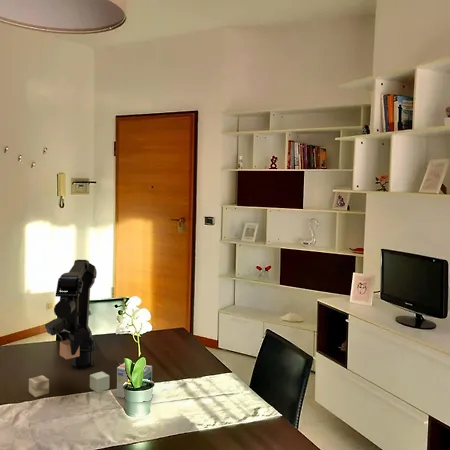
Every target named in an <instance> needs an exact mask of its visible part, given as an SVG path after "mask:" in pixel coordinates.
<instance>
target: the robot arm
mask: <svg viewBox="0 0 450 450" xmlns="http://www.w3.org/2000/svg"><path fill="white" fill-rule="evenodd" d="M96 278H97V268H96V266H95V265H94V264H92V263H90V261H89V260H87V259H75V260H74V263H73V265H72V267H71V268H70V270H69V271H67V272H64V273H62V274H61V275H60V276H59V278H58V279H57V285H56V291H55V297H57V298H58V297H59V301H58V302H57V303H56V304H55V306H54V308H53V312H54V315H55V316H56V318H53V319H52V320H50V321H48V322H47V323H45V324H44V327H45V330H46V333H47V334H49V335H50V336H53V337H54V336H56V335H58V336H59V337H60V342H61V341H65V340H69V341H70V346H71V353H72V355H75V354H76V352H77V350H78V348H79V346H80V356H78V357H74V358H71V360H72V362H71V366H73V367H75V368H76V369H78V370H82V369H85V368H90V367H93V366H95V365H94V363H92V355H93V354H92V353H93V352H95V351H96V344H95V343H96V342H95V339H94V336H93V332H92V330H91V329H90V326H89V315H90V301H91V300H90V298H91V297H90V296H91V288H92V287H93V286H94V284H95V280H96Z"/></svg>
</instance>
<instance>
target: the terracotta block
mask: <svg viewBox="0 0 450 450" xmlns="http://www.w3.org/2000/svg"><path fill="white" fill-rule="evenodd" d="M59 356H60V357H62V358H63V359H65V360H70V359H72V358H74V357H78V356H80V346H79V348H78V350H77V352H76V354H75V355H72V353H71V346H70V341H69V340H65V341H61V340H60V341H59Z"/></svg>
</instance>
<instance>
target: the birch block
mask: <svg viewBox="0 0 450 450" xmlns="http://www.w3.org/2000/svg"><path fill="white" fill-rule="evenodd" d="M28 393H29V394H30V395H31V396H33V397H34V398H37V397H40V396H44V395H48V394H49V393H50V379H49V378H47V377H46V376H44V375H38V376H34V377H31V378H28Z"/></svg>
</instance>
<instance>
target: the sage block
mask: <svg viewBox="0 0 450 450" xmlns="http://www.w3.org/2000/svg"><path fill="white" fill-rule="evenodd" d="M89 389H91V390H92V391H94V392H95V393H101V392H103V391H107V390H109V389H110V375H109V374H107V373H106V372H104V371H99V372H95V373H92V374H90V375H89Z"/></svg>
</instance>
